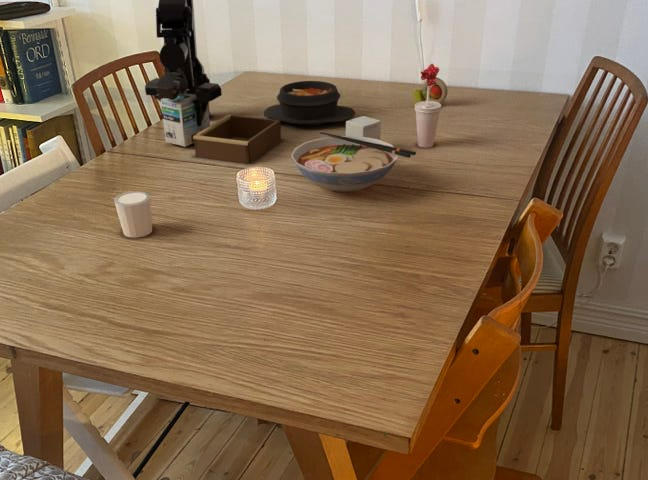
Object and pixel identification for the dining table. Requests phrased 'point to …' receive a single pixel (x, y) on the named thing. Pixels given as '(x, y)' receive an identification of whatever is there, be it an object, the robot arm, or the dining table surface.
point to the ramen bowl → (346, 161)
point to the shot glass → (134, 213)
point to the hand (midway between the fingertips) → (187, 124)
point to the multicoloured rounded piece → (436, 91)
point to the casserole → (309, 104)
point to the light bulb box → (182, 119)
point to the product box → (364, 127)
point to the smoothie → (427, 121)
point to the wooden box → (221, 148)
